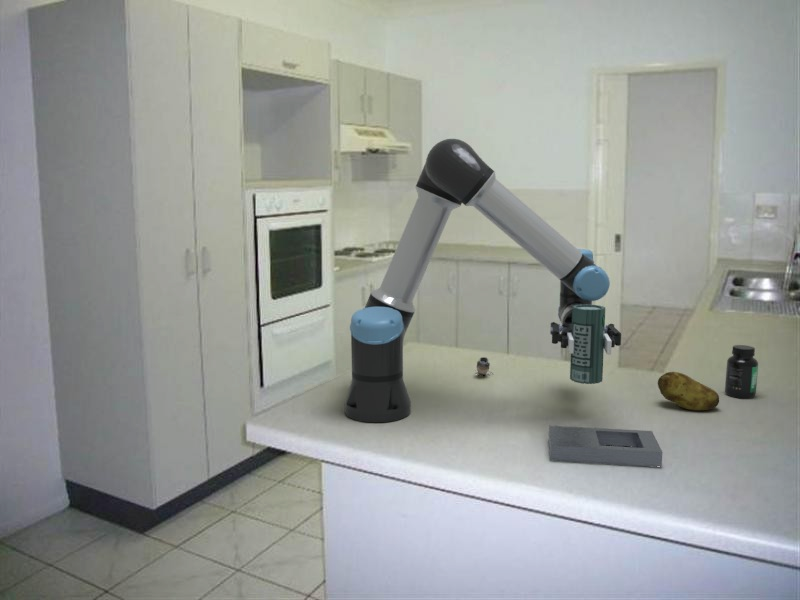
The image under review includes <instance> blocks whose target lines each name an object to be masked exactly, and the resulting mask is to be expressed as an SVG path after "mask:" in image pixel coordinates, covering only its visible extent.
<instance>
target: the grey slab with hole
mask: <svg viewBox="0 0 800 600" xmlns="http://www.w3.org/2000/svg"><path fill="white" fill-rule="evenodd" d="M606 445H610V446H606ZM611 445H612V446H611ZM623 446H630V447H623ZM631 446H632V447H631ZM548 447H549V459H550V461H551V462H562V461H566V462H565V463H579V464H581V463H583V464H595V463H597V465H611V464H613V465H615V466H628V465H631V466H632V467H644V466H656V467H655V468H658V467H657V466H660V467H663V463H662V462H663V454H664V453H663V450H662V448H661V446H660V444H659V442H658V439H656V436H655V434H654V432H653V431H652V430H644V429H642V430H641V429H640V430H639V429H638V430H637V429H622V428H621V429H620V428H619V429H618V428H603V427H602V428H601V427H587V426H586V427H580V426H567V425H564V426H563V425H561V426H560V425H548ZM631 466H630V467H631ZM660 467H659V468H660Z"/></svg>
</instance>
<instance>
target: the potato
mask: <svg viewBox="0 0 800 600" xmlns="http://www.w3.org/2000/svg"><path fill="white" fill-rule="evenodd" d="M657 387H658V390H659V391H660V394H661V396H663V398H664V399H666V400H667V401H668V402H669V401H670V402H671V403H674V404H676V405H677V406H679V407H680V408H682V409H686V410H689V411H708V410H711V409H715V408H716V407H718V405H719V403H720V396H719V394H718V392H717V391H716V390H714V389H713V388H711V387H709V386H707V385H704V384H703V383H701V382H699V381H697V380H695V379H694V378H691V376H688V375H687V374H684V373H682V372H679V371H669V372H665V373H664V374H662V375H661V376H660V377H659V378H658V380H657Z"/></svg>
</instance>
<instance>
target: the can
mask: <svg viewBox="0 0 800 600" xmlns="http://www.w3.org/2000/svg"><path fill="white" fill-rule="evenodd" d="M605 327H606V307H605V306H604V305H602V306H601V305H598V304H592V305H588V304H586V305H585V304H584V305H582V304H581V305H575V306H573V307H572V336H573V339H574V350H573V353H570V364H569V366H570V367H569V369H570V370H569V380H571V381H572V382H574V383H578V384H582V385H584V384H585V385H592V384H593V385H594V384H600V383H601V382H603V372H604V371H603V370H604V369H603V368H604V351H605V350H604V330H605Z"/></svg>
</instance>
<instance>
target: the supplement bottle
mask: <svg viewBox="0 0 800 600" xmlns="http://www.w3.org/2000/svg"><path fill="white" fill-rule="evenodd" d="M755 351H756V348H755V347H753V346H750V345H746V344H737V345H736V344H734V345H733V346H732V351H731V354H732V355H731V356H729V357H728V358H727V360H726V371H725V372H726V373H725V382H724V383H725V384H724V393H725V394H726V395H727V396H729V397H731V398H736V399H743V400H749V399H750V400H751V399H753V398H755V397H756V394H757V386H758V385H757V384H758V375H759V374H758V372H759V371H758V370H759V362H758V360H757V359H756V358H755V355H756V353H755Z"/></svg>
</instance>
